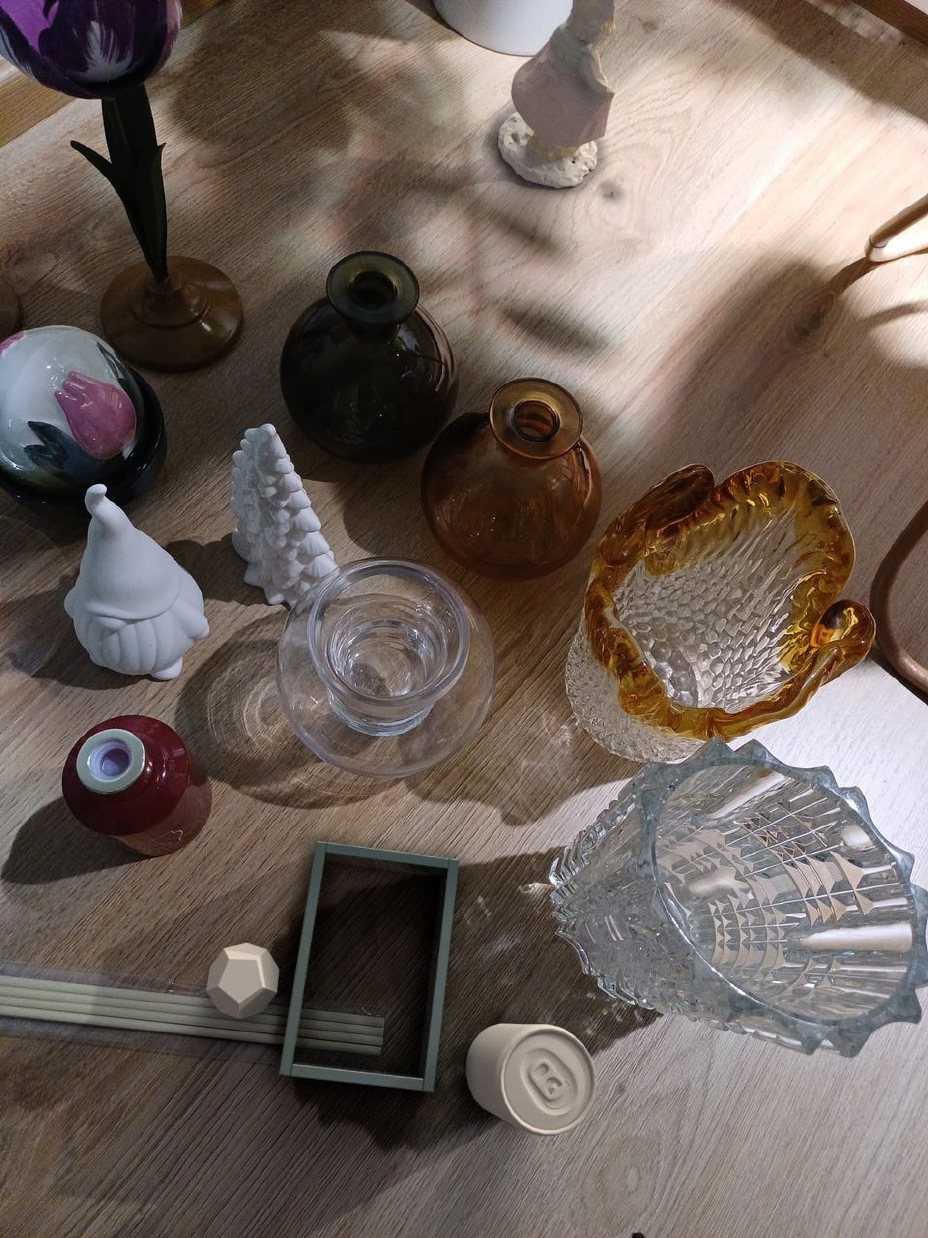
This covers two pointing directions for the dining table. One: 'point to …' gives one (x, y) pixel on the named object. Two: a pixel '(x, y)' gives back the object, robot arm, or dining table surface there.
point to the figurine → (561, 101)
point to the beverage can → (532, 1077)
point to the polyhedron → (242, 980)
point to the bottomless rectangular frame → (437, 972)
